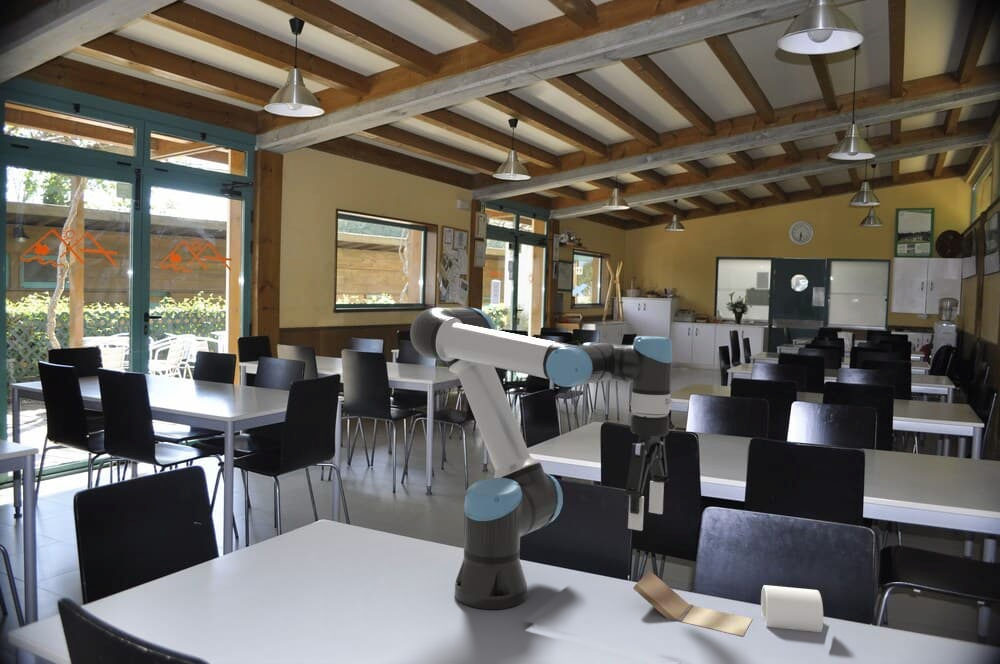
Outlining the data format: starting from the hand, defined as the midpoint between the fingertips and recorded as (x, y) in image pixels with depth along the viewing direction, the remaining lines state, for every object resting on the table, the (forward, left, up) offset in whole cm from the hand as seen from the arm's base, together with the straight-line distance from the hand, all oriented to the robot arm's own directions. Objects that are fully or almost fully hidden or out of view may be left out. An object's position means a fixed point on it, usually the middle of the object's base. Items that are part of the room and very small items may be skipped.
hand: (645, 520), depth 150 cm
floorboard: (+14, 0, -18) cm, 23 cm away
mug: (+26, +9, -18) cm, 33 cm away
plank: (+3, 0, -15) cm, 16 cm away
